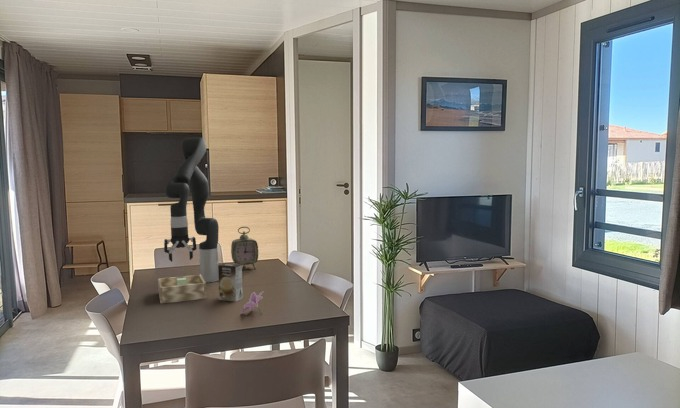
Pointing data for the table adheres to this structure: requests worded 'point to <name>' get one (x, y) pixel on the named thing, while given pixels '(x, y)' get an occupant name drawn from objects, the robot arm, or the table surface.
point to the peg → (181, 281)
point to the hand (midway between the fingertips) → (181, 260)
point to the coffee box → (230, 281)
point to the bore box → (182, 289)
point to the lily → (252, 302)
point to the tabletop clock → (244, 250)
